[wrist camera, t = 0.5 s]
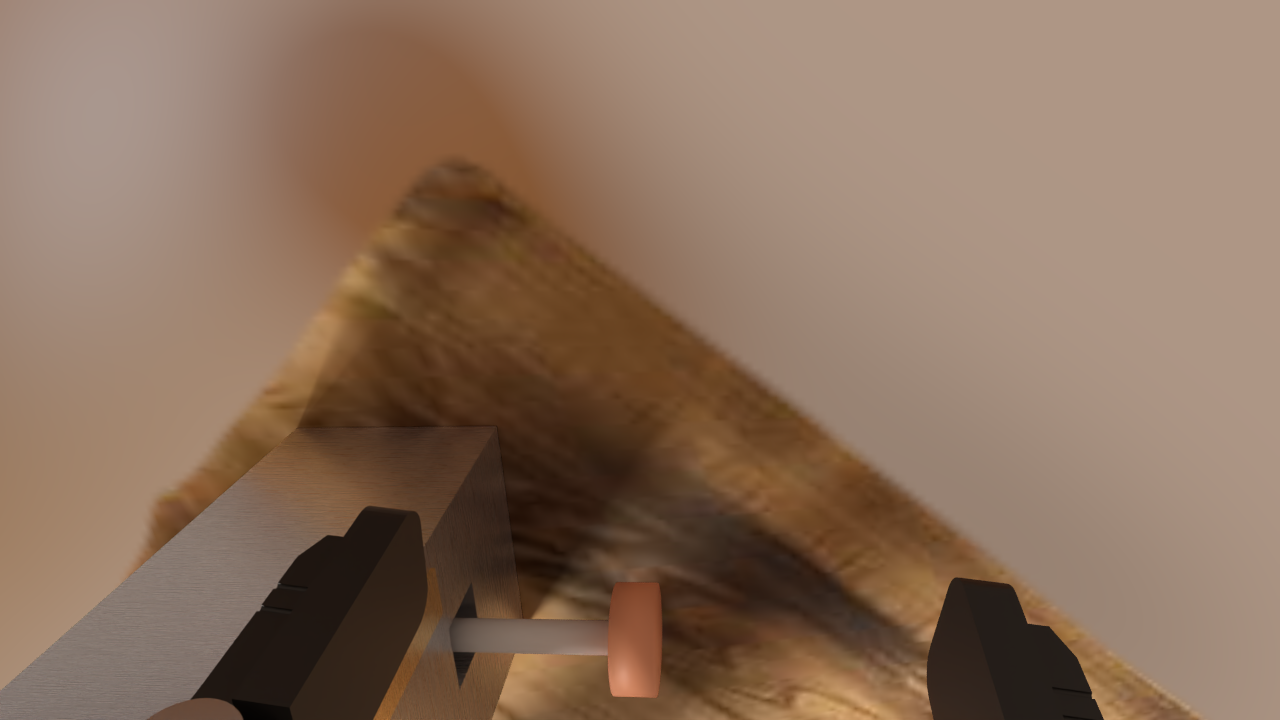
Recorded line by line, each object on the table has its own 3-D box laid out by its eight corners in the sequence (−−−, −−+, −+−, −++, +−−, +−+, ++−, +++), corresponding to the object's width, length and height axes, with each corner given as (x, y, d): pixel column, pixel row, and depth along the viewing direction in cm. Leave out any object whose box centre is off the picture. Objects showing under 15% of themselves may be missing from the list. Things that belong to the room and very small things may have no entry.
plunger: (658, 560, 40) (649, 631, 35) (663, 644, 42) (655, 722, 37) (389, 558, 41) (345, 626, 36) (406, 639, 43) (366, 713, 38)
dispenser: (501, 421, 45) (243, 850, 21) (529, 630, 50) (348, 1167, 26) (290, 423, 46) (-179, 828, 22) (339, 626, 52) (2, 1132, 28)
